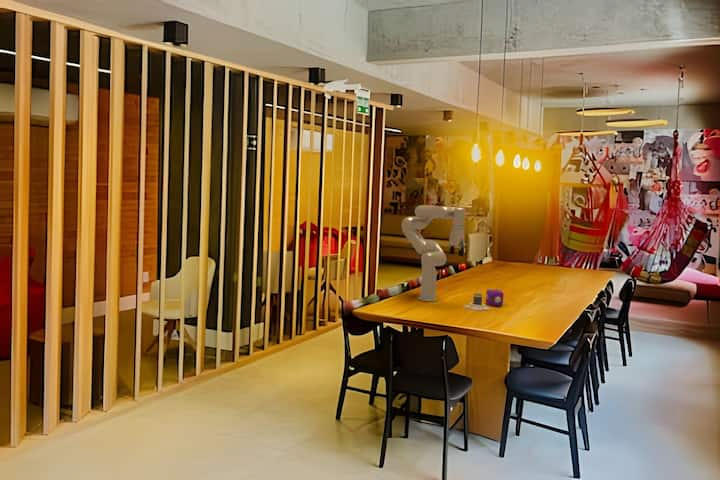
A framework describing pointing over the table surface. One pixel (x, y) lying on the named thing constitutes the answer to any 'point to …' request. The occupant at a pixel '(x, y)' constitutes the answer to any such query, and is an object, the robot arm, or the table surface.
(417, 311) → the table surface
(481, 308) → the lens mount
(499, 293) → the toy camera
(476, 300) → the lens
